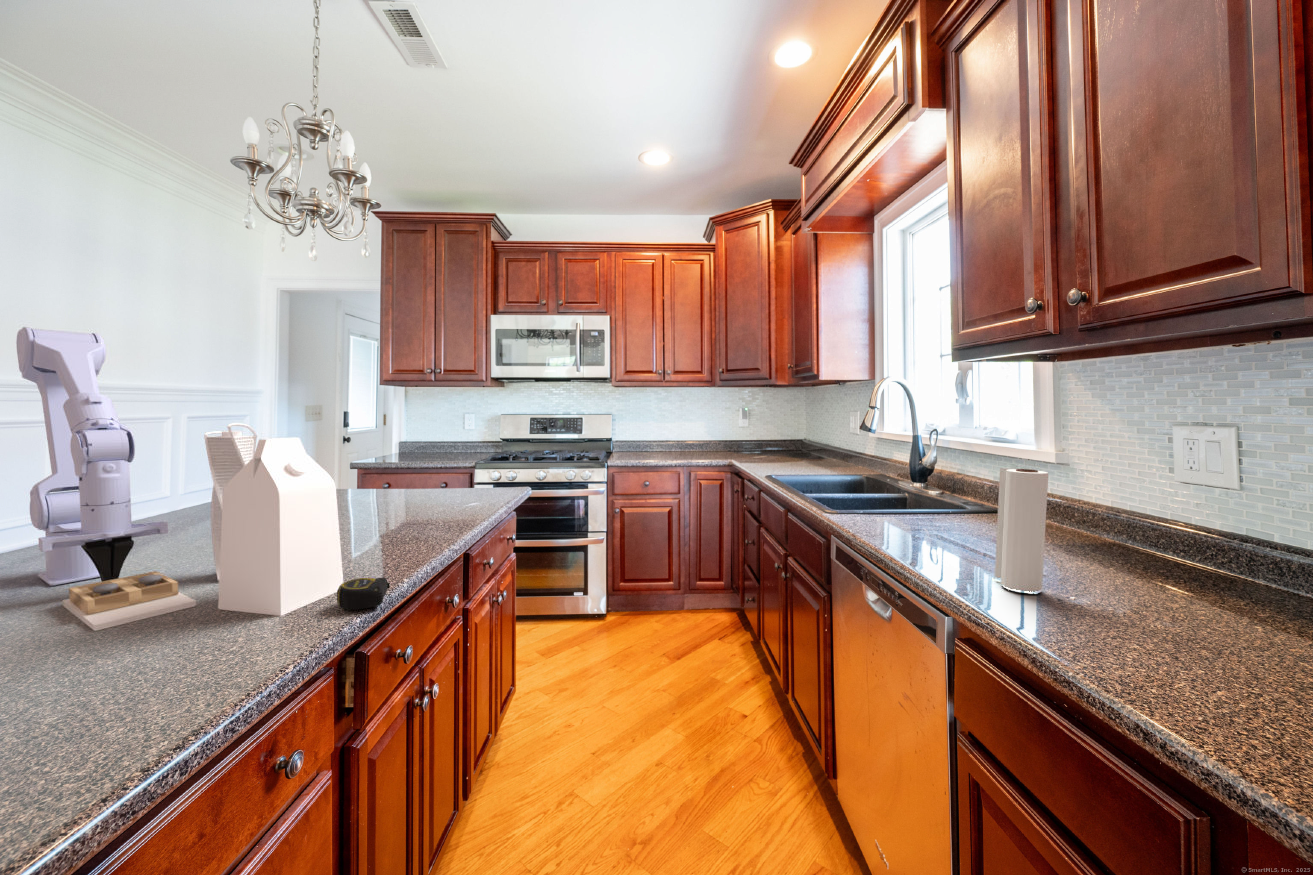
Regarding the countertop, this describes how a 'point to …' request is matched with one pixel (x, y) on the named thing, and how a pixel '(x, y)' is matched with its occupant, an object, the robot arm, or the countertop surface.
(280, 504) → the milk
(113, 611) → the mounting plate
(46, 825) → the countertop surface
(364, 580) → the tape measure
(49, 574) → the robot arm
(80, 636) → the countertop surface
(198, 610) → the countertop surface
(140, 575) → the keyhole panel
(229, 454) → the skyscraper
